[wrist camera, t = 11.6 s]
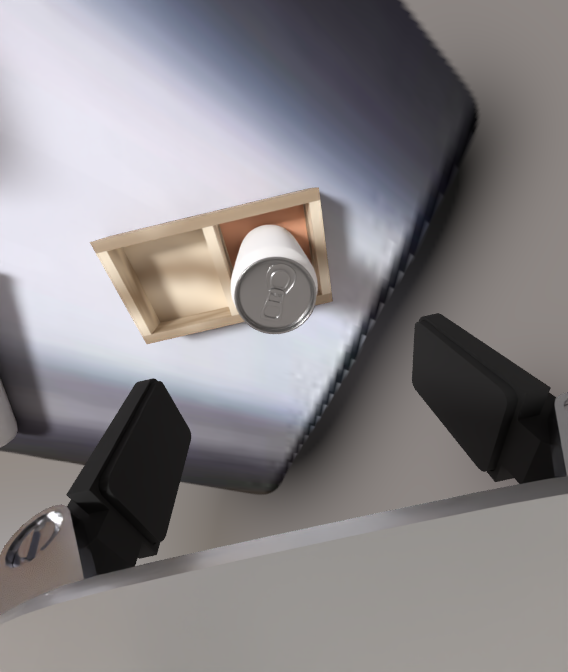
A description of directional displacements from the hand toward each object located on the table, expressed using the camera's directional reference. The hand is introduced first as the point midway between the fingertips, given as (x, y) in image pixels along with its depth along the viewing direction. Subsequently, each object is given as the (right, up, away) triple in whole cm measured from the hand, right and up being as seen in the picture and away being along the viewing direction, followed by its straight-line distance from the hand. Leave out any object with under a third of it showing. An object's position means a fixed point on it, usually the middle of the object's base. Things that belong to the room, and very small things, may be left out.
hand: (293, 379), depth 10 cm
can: (-2, +10, +19) cm, 21 cm away
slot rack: (-7, +10, +20) cm, 23 cm away
